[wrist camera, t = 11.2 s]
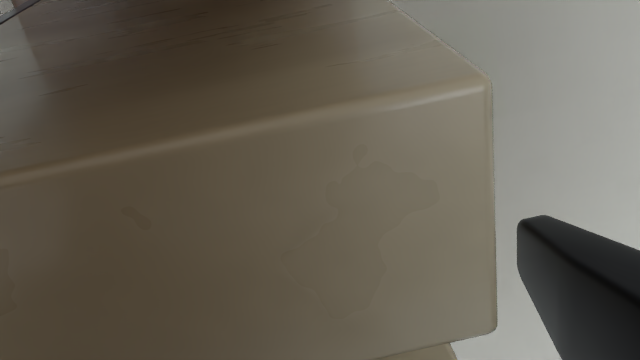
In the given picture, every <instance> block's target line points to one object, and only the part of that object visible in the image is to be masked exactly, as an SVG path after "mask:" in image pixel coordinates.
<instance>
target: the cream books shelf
mask: <svg viewBox="0 0 640 360" xmlns="http://www.w3.org/2000/svg"><path fill="white" fill-rule="evenodd" d="M11 1H12V3H13V5H14V9H12V10H11V11H9V12H7V13H5V14H3V15H2V16H0V360H376V359H380V358H385V357H389V356H394V355H398V354H402V353H407V352H411V351H415V350H420V349H424V348H429V347H433V346H437V345H442V344H446V343H451V342H455V341H459V340H464V339H468V338H473V337H477V336H481V335H486V334H489V333H491V332H493V331H494V330H495V329H496V327H497V282H496V238H495V194H494V150H493V106H492V83H491V81H490V79H489V77H488V75H487V73H485V72H484V71H483V70H481V69H480V68H479V67H477V66H476V65H474V64H473V63H472V62H470V61H469V60H468V59H466V58H465V57H464V56H462V55H461V54H460V53H458V52H457V51H456V50H454V49H453V48H452V47H450V46H449V45H448V44H446V43H445V42H443V41H442V40H441V39H439V38H438V37H437V36H435V35H434V34H433V33H431V32H430V31H429V30H427V29H426V28H425V27H423V26H422V25H421V24H419V23H418V22H417V21H415V20H414V19H412V18H411V17H410V16H408V15H407V14H406V13H404V12H403V11H402V10H400V9H399V8H398V7H396V6H395V5H394V4H392V3H391V2H390V1H388V0H11Z"/></svg>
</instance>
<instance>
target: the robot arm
mask: <svg viewBox="0 0 640 360" xmlns="http://www.w3.org/2000/svg"><path fill="white" fill-rule="evenodd" d="M517 267H518V271H519V274H520V277H521V279H522V281H523V283H524V285H525V287H526V289H527V291H528V293H529V295H530V297H531V299H532V301H533V303H534V305H535V307H536V309H537V311H538V313H539V315H540V317H541V319H542V321H543V323H544V325H545V327H546V329H547V331H548V333H549V335H550V337H551V339H552V341H553V343H554V345H555V347H556V349H557V351H558V353H559V355H560V357H561V358H562V360H640V251H639V250H637V249H634V248H632V247H629V246H626V245H624V244H621V243H618V242H616V241H613V240H610V239H608V238H605V237H603V236H600V235H597V234H595V233H592V232H589V231H587V230H584V229H581V228H579V227H576V226H573V225H571V224H568V223H566V222H563V221H560V220H558V219H555V218H552V217H550V216H546V215H540V216H536V217H531V218H527V219H523V220H521V221H520V222H519V223H518V226H517Z"/></svg>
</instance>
